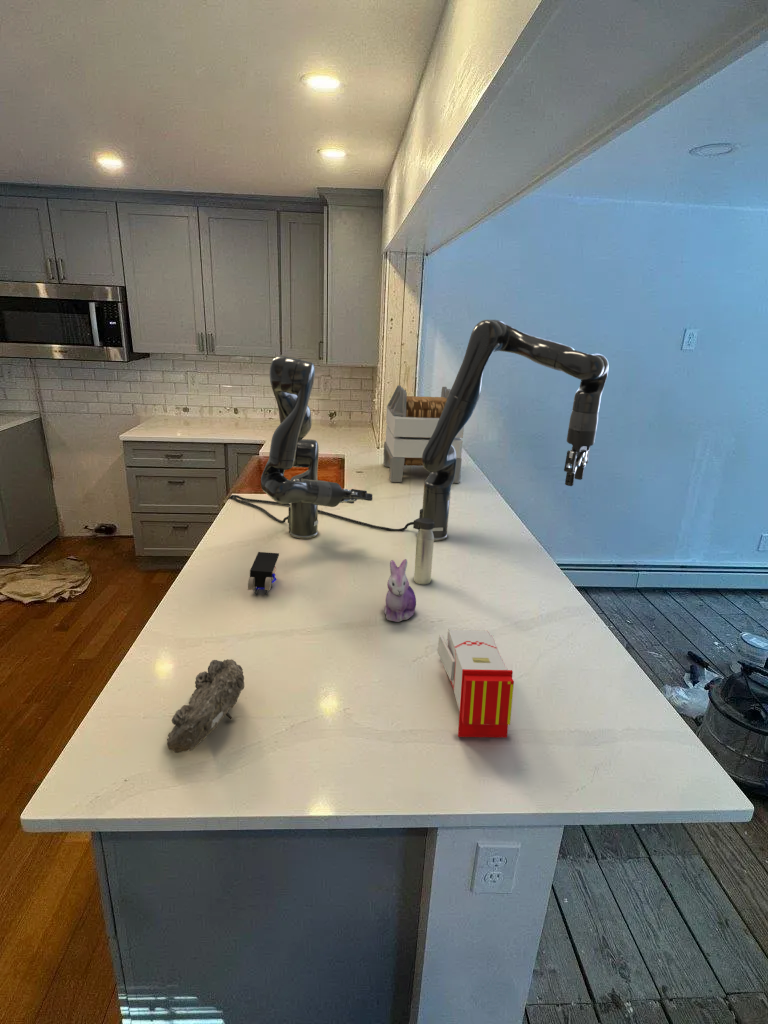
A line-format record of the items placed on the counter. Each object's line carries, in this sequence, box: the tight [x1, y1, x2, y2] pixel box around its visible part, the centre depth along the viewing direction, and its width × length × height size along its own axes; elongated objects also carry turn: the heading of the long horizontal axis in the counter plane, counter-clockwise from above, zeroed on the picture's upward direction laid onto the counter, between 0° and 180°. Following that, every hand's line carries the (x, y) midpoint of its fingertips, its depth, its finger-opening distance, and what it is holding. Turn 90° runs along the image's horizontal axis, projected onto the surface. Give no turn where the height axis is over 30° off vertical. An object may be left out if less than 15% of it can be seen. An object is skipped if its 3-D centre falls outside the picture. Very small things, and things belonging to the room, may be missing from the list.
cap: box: [418, 518, 434, 530], centre depth 160 cm, size 4×4×2 cm
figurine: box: [384, 558, 417, 623], centre depth 145 cm, size 9×10×15 cm
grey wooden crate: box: [383, 384, 465, 484], centre depth 268 cm, size 34×33×41 cm
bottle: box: [413, 529, 435, 585], centre depth 163 cm, size 5×5×18 cm
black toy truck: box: [247, 551, 280, 596], centre depth 158 cm, size 7×8×15 cm
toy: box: [437, 628, 515, 738], centre depth 117 cm, size 12×13×30 cm
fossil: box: [166, 658, 245, 754], centre depth 106 cm, size 22×10×15 cm
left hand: (362, 498), depth 182 cm, fingers open, 8 cm apart
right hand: (573, 482), depth 165 cm, fingers open, 8 cm apart
